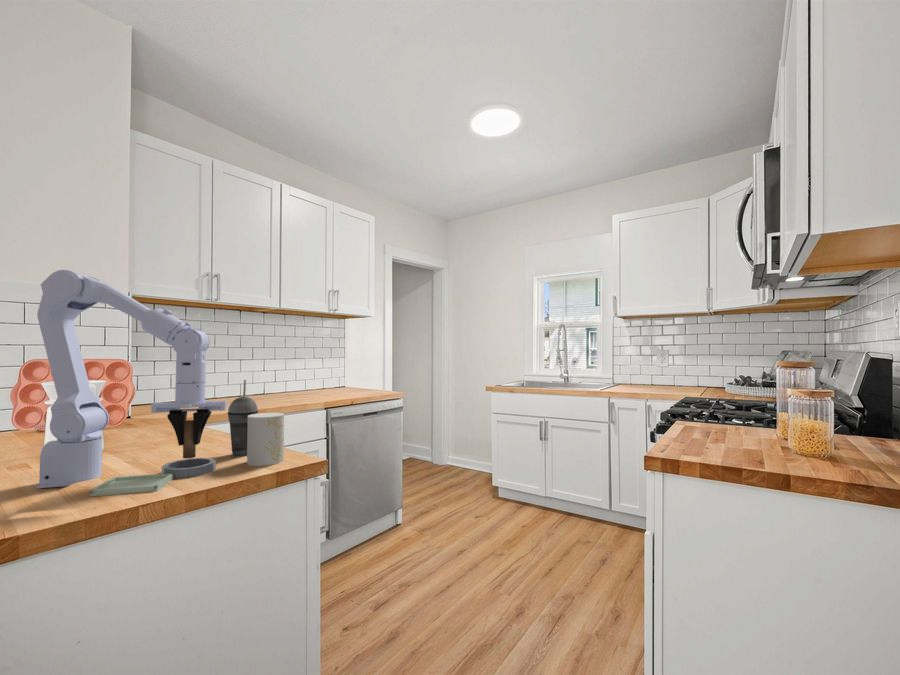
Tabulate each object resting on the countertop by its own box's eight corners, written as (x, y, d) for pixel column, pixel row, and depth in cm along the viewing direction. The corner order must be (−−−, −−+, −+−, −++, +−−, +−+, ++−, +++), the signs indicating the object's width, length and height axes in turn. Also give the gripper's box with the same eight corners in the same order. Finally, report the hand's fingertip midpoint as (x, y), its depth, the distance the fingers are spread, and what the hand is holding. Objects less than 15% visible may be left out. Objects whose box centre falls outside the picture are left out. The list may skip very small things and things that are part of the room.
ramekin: (154, 483, 90) (154, 470, 90) (171, 471, 100) (172, 459, 100) (207, 479, 93) (208, 467, 93) (219, 467, 103) (220, 456, 103)
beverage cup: (252, 452, 118) (253, 378, 119) (262, 457, 113) (262, 379, 113) (223, 457, 113) (224, 379, 114) (231, 462, 108) (232, 381, 109)
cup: (270, 470, 100) (271, 417, 101) (239, 468, 102) (240, 416, 102) (290, 461, 108) (290, 413, 109) (261, 460, 110) (261, 412, 110)
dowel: (181, 458, 95) (182, 421, 95) (184, 456, 97) (185, 420, 98) (193, 458, 96) (194, 421, 96) (196, 455, 98) (197, 419, 98)
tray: (89, 500, 80) (89, 490, 80) (113, 485, 89) (113, 477, 89) (157, 495, 83) (157, 485, 83) (174, 481, 92) (174, 472, 92)
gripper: (145, 384, 91) (144, 449, 91) (221, 383, 95) (220, 446, 95) (159, 382, 98) (157, 443, 98) (229, 381, 102) (228, 439, 101)
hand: (189, 444), depth 97 cm, fingers closed on dowel, 2 cm apart
